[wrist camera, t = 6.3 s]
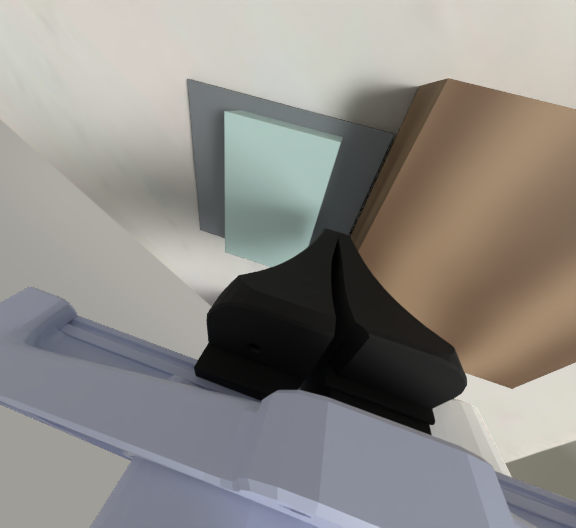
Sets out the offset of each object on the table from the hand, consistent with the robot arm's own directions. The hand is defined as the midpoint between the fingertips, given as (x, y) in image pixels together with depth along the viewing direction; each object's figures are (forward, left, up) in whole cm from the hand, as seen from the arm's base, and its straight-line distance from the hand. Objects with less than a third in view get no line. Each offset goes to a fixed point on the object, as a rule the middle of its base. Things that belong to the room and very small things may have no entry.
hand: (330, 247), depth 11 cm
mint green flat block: (-4, 0, -2) cm, 5 cm away
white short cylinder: (+22, -20, -5) cm, 30 cm away
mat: (-5, 0, -5) cm, 7 cm away
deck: (+8, 0, -5) cm, 10 cm away
